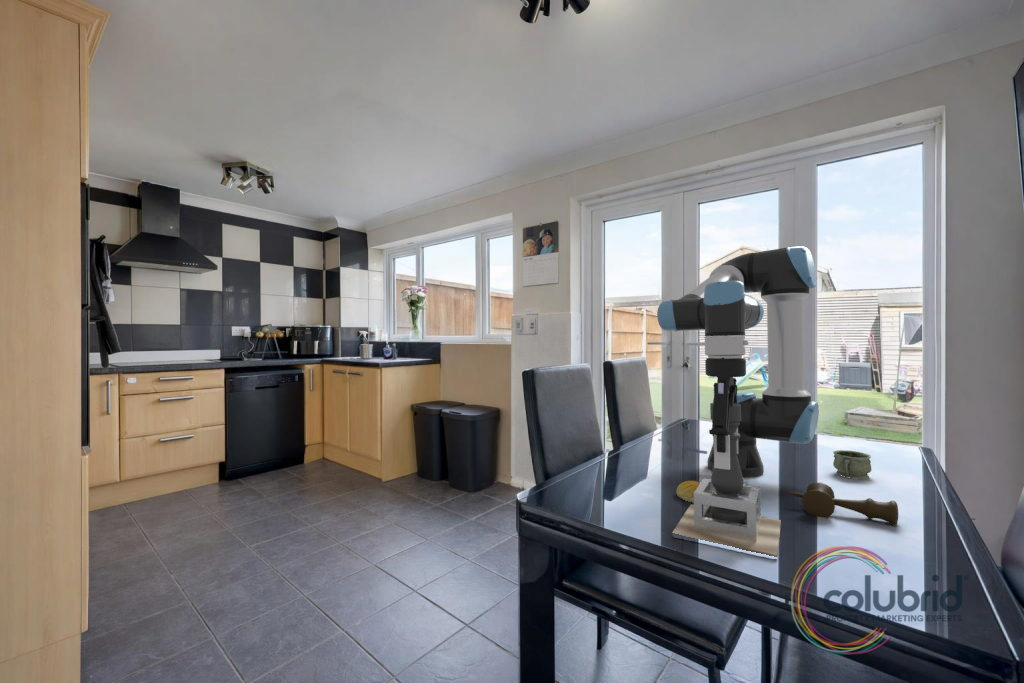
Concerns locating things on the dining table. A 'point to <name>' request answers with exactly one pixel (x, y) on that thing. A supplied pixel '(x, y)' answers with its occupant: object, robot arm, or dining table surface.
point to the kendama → (844, 504)
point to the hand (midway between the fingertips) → (727, 460)
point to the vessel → (852, 464)
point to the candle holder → (729, 472)
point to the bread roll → (688, 490)
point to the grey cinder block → (721, 527)
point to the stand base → (764, 544)
